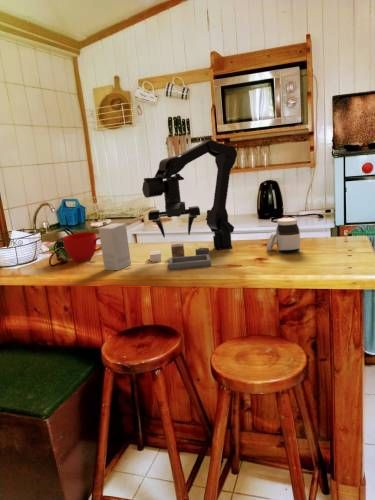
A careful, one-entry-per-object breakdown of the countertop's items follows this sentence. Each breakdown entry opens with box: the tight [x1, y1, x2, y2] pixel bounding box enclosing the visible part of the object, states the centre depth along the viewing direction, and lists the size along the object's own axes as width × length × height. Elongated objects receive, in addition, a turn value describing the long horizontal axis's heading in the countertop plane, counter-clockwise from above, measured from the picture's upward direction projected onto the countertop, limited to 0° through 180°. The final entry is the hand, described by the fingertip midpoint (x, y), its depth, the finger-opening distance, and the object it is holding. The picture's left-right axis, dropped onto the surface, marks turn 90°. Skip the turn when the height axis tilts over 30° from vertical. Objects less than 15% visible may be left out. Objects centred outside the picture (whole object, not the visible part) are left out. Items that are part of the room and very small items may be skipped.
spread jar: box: [266, 217, 301, 255], centre depth 144 cm, size 12×11×12 cm
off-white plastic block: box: [149, 249, 162, 262], centre depth 151 cm, size 4×6×3 cm, turn 3°
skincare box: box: [98, 222, 132, 271], centre depth 144 cm, size 8×7×16 cm
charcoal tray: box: [168, 253, 212, 271], centre depth 140 cm, size 14×9×2 cm, turn 91°
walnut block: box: [170, 243, 185, 258], centre depth 150 cm, size 4×4×5 cm
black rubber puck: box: [195, 247, 211, 258], centre depth 148 cm, size 5×5×3 cm
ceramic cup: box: [62, 231, 102, 263], centre depth 161 cm, size 13×17×10 cm
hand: (176, 236), depth 149 cm, fingers open, 9 cm apart
